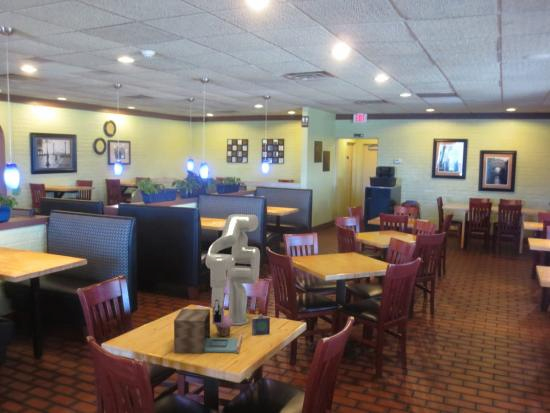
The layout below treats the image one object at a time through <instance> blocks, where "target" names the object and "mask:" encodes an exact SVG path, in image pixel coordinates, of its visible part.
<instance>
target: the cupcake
mask: <svg viewBox="0 0 550 413" xmlns="http://www.w3.org/2000/svg"><path fill="white" fill-rule="evenodd" d="M232 324H233V322H232V319H231V318H230V317H229V315H224V323H223V325H220V324H214V325H215V327H216V331H217V333H218V335H219V336H223V337H227V336H229V335H230V334H231V326H233V325H232Z"/></svg>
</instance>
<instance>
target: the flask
mask: <svg viewBox="0 0 550 413" xmlns="http://www.w3.org/2000/svg"><path fill="white" fill-rule="evenodd" d="M251 318H252V320H251V322H252V323H251V329H252V331H251V335H252V336H263V335H267V336H268V335H270V334H271V333H270V325H271V324H270V322H271V320H270V319H271V318H270V316H267V315H263V313H259V316H256V317H251Z"/></svg>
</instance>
